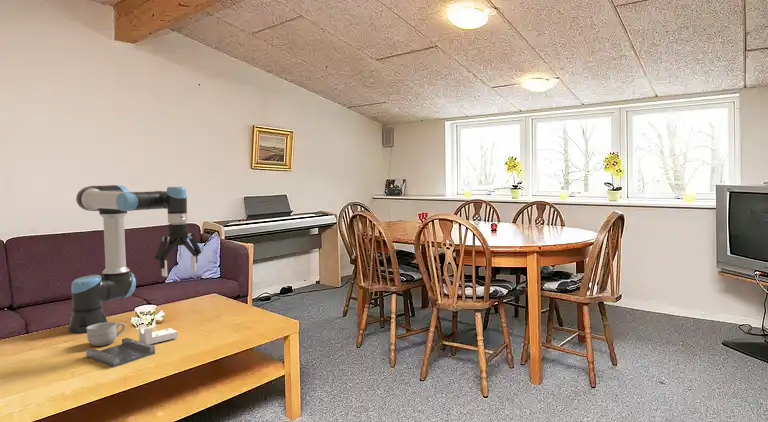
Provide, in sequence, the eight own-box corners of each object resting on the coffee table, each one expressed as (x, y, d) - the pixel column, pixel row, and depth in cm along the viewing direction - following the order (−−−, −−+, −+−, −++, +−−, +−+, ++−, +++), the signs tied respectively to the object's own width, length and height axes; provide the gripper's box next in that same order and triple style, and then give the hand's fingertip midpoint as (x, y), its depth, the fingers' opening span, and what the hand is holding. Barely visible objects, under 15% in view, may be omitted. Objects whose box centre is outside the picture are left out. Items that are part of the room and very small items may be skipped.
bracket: (146, 347, 200) (145, 329, 199) (139, 343, 204) (138, 325, 204) (177, 339, 209) (177, 322, 208) (170, 336, 214) (170, 318, 213)
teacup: (86, 350, 196) (85, 330, 196) (88, 342, 206) (87, 323, 205) (125, 344, 203) (125, 325, 202) (125, 336, 212) (125, 318, 212)
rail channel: (86, 357, 188) (85, 349, 188) (127, 344, 202) (126, 337, 202) (114, 367, 178) (113, 358, 178) (155, 353, 192) (154, 346, 192)
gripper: (154, 226, 194) (156, 279, 196) (208, 221, 215) (210, 269, 216) (144, 225, 199) (146, 277, 200) (198, 220, 219) (199, 268, 221)
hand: (179, 273), depth 208 cm, fingers open, 13 cm apart
